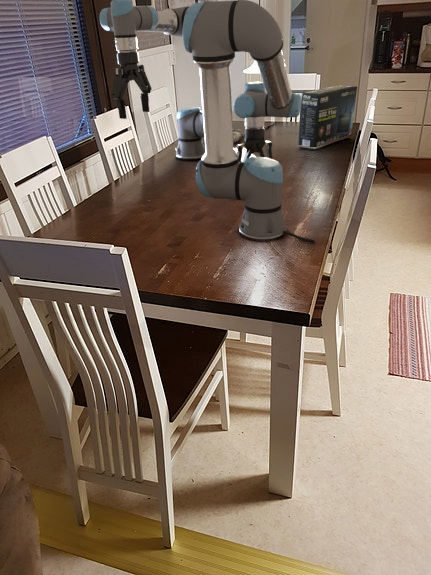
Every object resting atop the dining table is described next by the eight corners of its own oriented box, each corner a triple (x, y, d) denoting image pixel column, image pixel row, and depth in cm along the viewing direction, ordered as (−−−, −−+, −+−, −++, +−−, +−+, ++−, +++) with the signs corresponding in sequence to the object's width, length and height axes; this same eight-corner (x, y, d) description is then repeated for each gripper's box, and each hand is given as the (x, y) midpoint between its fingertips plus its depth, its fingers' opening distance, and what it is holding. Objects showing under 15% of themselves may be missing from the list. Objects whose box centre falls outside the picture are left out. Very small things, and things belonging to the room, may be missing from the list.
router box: (314, 151, 231) (318, 94, 217) (296, 148, 237) (299, 92, 224) (352, 138, 251) (358, 85, 238) (335, 135, 258) (340, 83, 245)
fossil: (234, 138, 244) (215, 120, 247) (224, 155, 250) (206, 137, 254) (251, 137, 258) (232, 120, 261) (240, 153, 264) (223, 136, 267)
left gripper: (140, 48, 171) (147, 108, 182) (94, 54, 153) (104, 120, 164) (157, 48, 168) (162, 109, 179) (111, 54, 150) (121, 122, 161)
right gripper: (276, 122, 176) (274, 180, 188) (225, 127, 172) (227, 186, 184) (284, 126, 170) (281, 186, 182) (231, 131, 166) (232, 192, 178)
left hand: (135, 115), depth 171 cm, fingers open, 13 cm apart
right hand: (254, 186), depth 183 cm, fingers closed on box, 7 cm apart
